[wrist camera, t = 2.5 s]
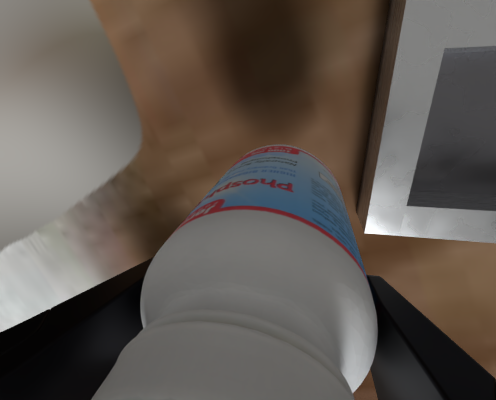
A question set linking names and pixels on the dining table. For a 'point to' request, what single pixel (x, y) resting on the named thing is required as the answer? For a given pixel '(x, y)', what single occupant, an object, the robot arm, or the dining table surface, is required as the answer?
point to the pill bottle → (255, 294)
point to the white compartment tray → (433, 124)
